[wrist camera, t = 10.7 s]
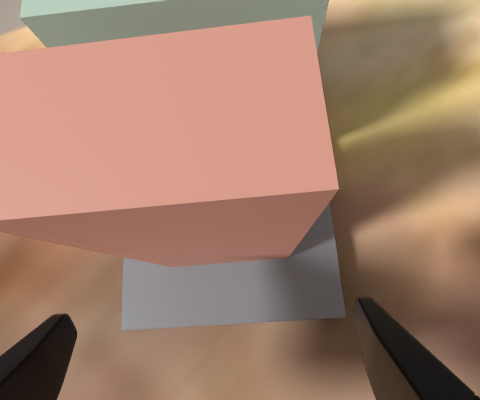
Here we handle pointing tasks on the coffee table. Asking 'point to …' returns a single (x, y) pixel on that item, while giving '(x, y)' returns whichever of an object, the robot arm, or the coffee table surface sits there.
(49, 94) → the block
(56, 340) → the robot arm
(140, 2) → the book row
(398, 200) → the coffee table surface
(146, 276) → the shelf board
